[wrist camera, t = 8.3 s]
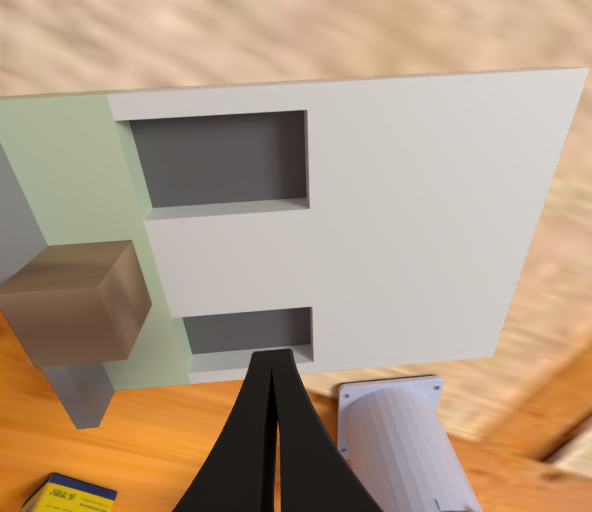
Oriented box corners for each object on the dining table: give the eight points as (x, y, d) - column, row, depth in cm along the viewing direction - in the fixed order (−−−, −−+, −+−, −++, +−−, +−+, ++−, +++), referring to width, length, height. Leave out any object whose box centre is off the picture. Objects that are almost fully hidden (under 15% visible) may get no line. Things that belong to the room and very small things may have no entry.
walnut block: (152, 304, 19) (127, 359, 16) (77, 310, 19) (35, 367, 15) (131, 239, 17) (97, 286, 14) (48, 245, 17) (-9, 294, 13)
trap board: (476, 335, 25) (516, 387, 21) (107, 368, 24) (77, 429, 20) (555, 66, 16) (645, 69, 12) (-15, 97, 15) (-111, 111, 11)
